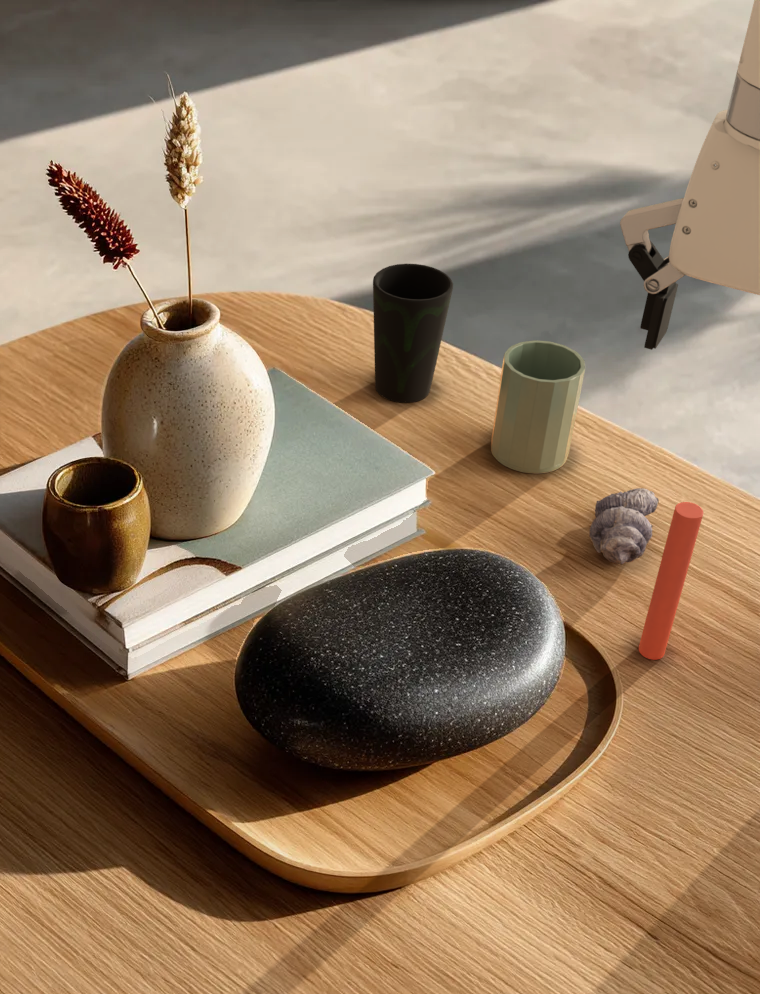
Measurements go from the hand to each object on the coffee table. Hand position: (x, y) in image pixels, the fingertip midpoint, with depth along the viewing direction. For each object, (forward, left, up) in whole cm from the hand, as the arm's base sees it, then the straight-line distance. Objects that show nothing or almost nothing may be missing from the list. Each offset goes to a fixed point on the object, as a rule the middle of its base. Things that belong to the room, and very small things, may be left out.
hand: (726, 360), depth 89 cm
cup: (+33, -25, -27) cm, 49 cm away
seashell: (+6, -12, -27) cm, 30 cm away
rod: (0, 0, -27) cm, 27 cm away
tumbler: (+18, -21, -27) cm, 38 cm away
